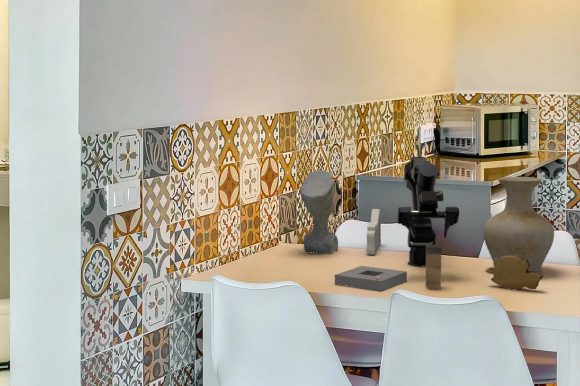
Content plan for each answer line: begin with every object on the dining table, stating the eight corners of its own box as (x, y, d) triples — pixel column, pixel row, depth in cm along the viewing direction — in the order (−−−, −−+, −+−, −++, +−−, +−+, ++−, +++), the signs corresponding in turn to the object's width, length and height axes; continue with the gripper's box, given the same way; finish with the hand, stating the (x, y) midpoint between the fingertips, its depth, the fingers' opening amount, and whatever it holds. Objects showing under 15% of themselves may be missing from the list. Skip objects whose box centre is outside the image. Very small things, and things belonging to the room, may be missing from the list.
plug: (425, 285, 251) (425, 244, 250) (439, 286, 251) (439, 244, 249) (426, 289, 247) (427, 247, 245) (441, 289, 247) (441, 247, 245)
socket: (361, 275, 267) (361, 264, 267) (406, 281, 258) (406, 270, 257) (334, 284, 254) (334, 273, 254) (381, 291, 245) (381, 279, 244)
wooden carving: (543, 290, 245) (544, 256, 244) (540, 293, 241) (541, 259, 240) (487, 284, 253) (488, 251, 251) (483, 287, 249) (484, 254, 247)
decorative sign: (374, 262, 299) (374, 221, 296) (366, 262, 299) (366, 221, 296) (380, 244, 321) (380, 206, 318) (373, 244, 322) (373, 206, 318)
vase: (494, 262, 285) (496, 174, 281) (560, 268, 274) (563, 177, 270) (473, 274, 266) (475, 180, 263) (543, 281, 255) (545, 183, 252)
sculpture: (339, 247, 315) (339, 167, 312) (332, 259, 293) (332, 173, 290) (307, 246, 317) (307, 167, 314) (298, 258, 295) (297, 173, 292)
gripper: (398, 181, 260) (401, 221, 250) (458, 180, 259) (464, 221, 249) (395, 203, 268) (398, 243, 259) (454, 202, 267) (459, 243, 258)
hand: (430, 237), depth 256 cm, fingers open, 9 cm apart
